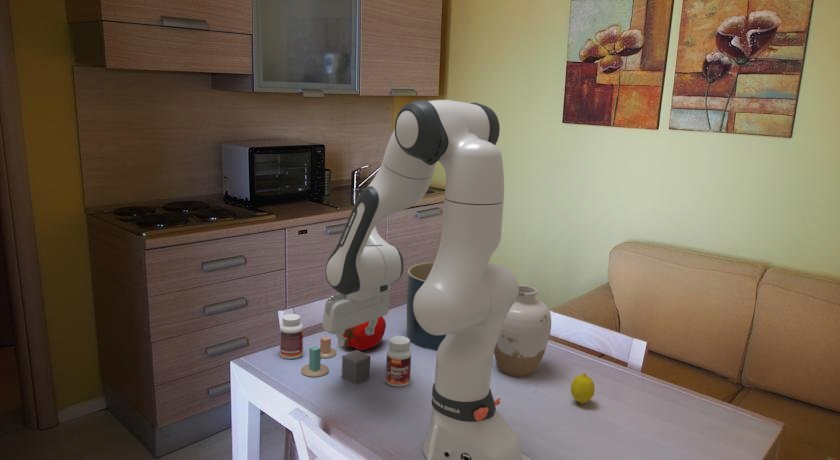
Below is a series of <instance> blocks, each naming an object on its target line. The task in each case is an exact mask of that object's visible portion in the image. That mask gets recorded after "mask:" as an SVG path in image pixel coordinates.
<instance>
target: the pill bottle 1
mask: <svg viewBox="0 0 840 460" xmlns="http://www.w3.org/2000/svg"><path fill="white" fill-rule="evenodd" d="M281 322H282V323H281V324H280V326H279V356H281V357H282V358H283V359H285V360H286V359H288V360H294V359H298V358H300V357H302V355H303V354H304V327H303V326H304V325H303V324H302V323H301V316H300V315H299V314H296V313H287V314H284V315H283V316H282V320H281Z"/></svg>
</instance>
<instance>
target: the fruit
mask: <svg viewBox="0 0 840 460" xmlns="http://www.w3.org/2000/svg"><path fill="white" fill-rule="evenodd" d="M570 393H571V396H572V398H573V399H574V400H575V401H577V402H578V403H579V404H582V405H583V404H585V403H587V402H589V401H590V400H591V399H592V398H593V396H594V394H595V384H594V381H593V380H592V378H591V377H590V376H588V375H587V374H586V373H584V372H583V374H579V375H577V376H575V377H574V378H573V379H572V382H571V384H570Z"/></svg>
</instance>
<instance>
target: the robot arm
mask: <svg viewBox="0 0 840 460" xmlns="http://www.w3.org/2000/svg"><path fill="white" fill-rule="evenodd" d="M394 121H395V122H394V130H393V132H392V133H391V136H390V138H389V140H388V143H387V146H386V149H385V152H384V155H383V158H382V162H381V165H380V166H379V168H378V171H377V173H376V175H375V176H374V178H373V179H372V181H371V182H370V183H369V184H368V185H367V186H366V187H365V188H364V189H363V190H362V191H361V192H360V193H359V195H358V196H357V198H356V200H355V202H354V205H353V207H352V209H351V212H350V215H349V216H348V219H347V220H346V221H347V222H346V223H345V226H344V227H343V231H342V233H341V235H340V238H339V240H338V242H337V244H336V246H335V248H334V249H333V251H332V252H331V254H330V256H329V257H328V259H327V261H326V264H325V278H326V281H327V283H328V285H329V286H330V287H331V288H332V289H333V290H335V291H336V292H337V293H335V294H332V295H330V296H329V298H328V299H327V300H326V301H325V304H324V310H323V314H322V315H323V316H322V317H323V318H322V326H321V327H322V329H323V330H324V331H325V332H326V333H328V334H331V335H335V336H336V338H337V344H338V346H339V347H345V346H347V338H344V336H343V334H344V333H345V330H346V329H349V328H352V327H354V326H357V325H360V324H363V323H365V322H368V321H369V324H368V327H366V328H365V334H366V335H368V336H370V335H372V334H374V328H375V326H376V324H377V322H378V318H379V317H381V316H383V317H385V316H387V314H388V312H389V311H390V305H391V297H390V296H391V295H390V291H389V290H390V288H391V285H392V284H395V283H398V281H399V280H400V279H401V277H403V273H404V267H405V263H404V257H403V254H402V253H401V251H400V250H399V248H397V247H396V246H394V245H393V244H390V243H388V242H387V241H385V239H384V238H382V236H380V234H379V231H378V229H377V227H376V226H377V225H378V224H380V222H382V221H383V220H386V219H387V218H389V217H390V216H392V215H394V214H397V213H399V212H402V211H404V210H407V209H409V208H411V207H413V206H416V204H418V203H419V202H420V201H422V200H423V198H424V197H425V195H426V193H427V192H428V190H429V187H430V185H431V182H432V179H433V176H434V174H435V169H436V165H437V162H439V163H440V164H441V165H442V167H443V169H444V172H445V190H444V204H443V205H444V206H443V219H442V220H443V221H442V229H441V231H442V232H441V237H440V243H439V247H438V250H437V253H436V256H435V259H434V261H433V262H434V264H433V267H432V269H431V271H430V273H429V275H428V277H427V279H426V281H425V282H424V284H423V285H422V286H421V287H420V288H419V290H418V291H417V292H416V294H415V297H414V301H413V310H414V315H415V318H416V320H417V322H418V323H419V325H420V326H421V327H422V329H424V330H425V331H426V332H428V333H429V334H432V335H446V337H445V338H444V340H443V341H442V342H441V344H440V345H439V347H438V350H436V357H435V376H434V383H433V384H432V390H431V399H430V400H431V406H432V411H431V417H430V422H429V423H430V424H429V426H428V430H427V435H426V438H425V440H424V443H423V446H422V451H423V454H424V457H425V458H426V460H532V459H531V458H530V457H528V456H527V455H525V454H524V453H523V452H522V444H521V438H520V436H519V435H518V434H517V433H516V431H515V430H514V429H513V428H512V427H511V425H510V424H509V423H508V422H507V421H506V420H505V419H504V418H503V416H502V415H501V414H500V413H499V412H498V410H497V406H499V405H500V404H501V397H498V398H497V399H494V396H493V393H492V389H491V387H490V385H491V376H492V366H493V358H494V350H495V346H496V343H497V340H498V337H499V334H500V331H501V328H502V326H503V323H504V320H505V318H506V316H507V313H508V312H509V310H510V308H511V307H512V305H513V304H514V303H515V301H516V299H517V297H518V292H519V287H518V285H519V283H518V280H517V277H516V275H515V273H514V272H513V271H512V270H511V269H510V268H509V267H507V266H505V265H503V264H499V263H489V262H490V259H491V257H492V256H493V254H494V253H495V251H496V250H497V249H498V247H499V245H500V243H501V239H502V229H503V215H504V200H505V173H504V163H503V156H502V153H501V150H500V149H499V147H498V146H496V145H497V143H498V140H499V137H500V130H501V129H500V121H499V119H498V116H497V114H496V112H495V111H494V110H493V108H490V107H489V106H487V105H485V104H482V103H478V102H467V101H466V102H465V101H455V100H452V99H435V100H433V99H432V100H424V99H421V100H415V101H411V102H409V103H407V104H405V105H403V106H402V107H401V108H400V109H399V111H398V113H397V115H396V117H395V120H394Z"/></svg>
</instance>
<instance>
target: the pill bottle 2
mask: <svg viewBox="0 0 840 460" xmlns="http://www.w3.org/2000/svg"><path fill="white" fill-rule="evenodd" d="M388 347H389V348H388V349H387V351H386V366H385V381H386V384H388V385H390V386H392V387H405V386H407V385H408V384H409V383H410V381H411V370H412V369H411V368H412V367H411V366H412V351H411V349H410V347H411V341H410V340H409V338H408V337H407V336H401V335H395V336H392V337H390V339H389V344H388Z"/></svg>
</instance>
